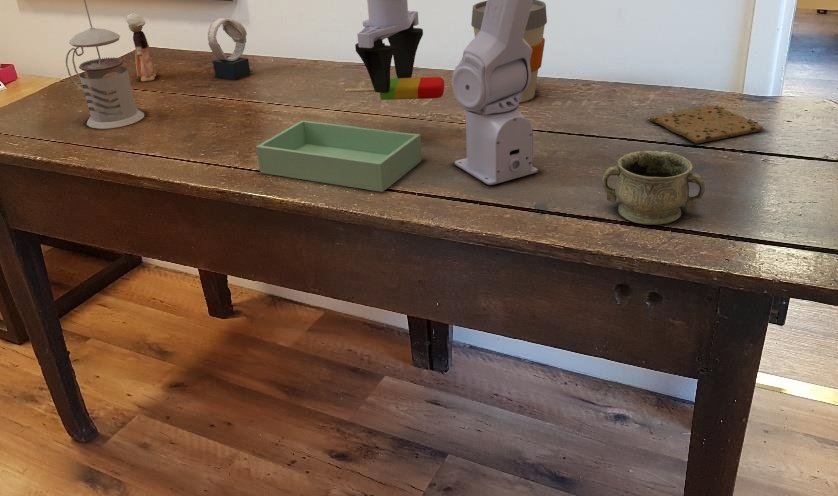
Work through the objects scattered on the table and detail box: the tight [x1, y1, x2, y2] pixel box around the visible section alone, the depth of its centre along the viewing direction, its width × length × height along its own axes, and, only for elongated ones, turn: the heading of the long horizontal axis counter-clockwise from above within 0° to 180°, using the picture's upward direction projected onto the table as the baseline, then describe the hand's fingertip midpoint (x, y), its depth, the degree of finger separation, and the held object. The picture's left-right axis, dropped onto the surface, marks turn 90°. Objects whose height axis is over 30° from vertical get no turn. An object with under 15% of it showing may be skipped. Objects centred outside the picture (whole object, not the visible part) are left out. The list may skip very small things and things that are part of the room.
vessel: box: [601, 150, 706, 226], centre depth 96 cm, size 12×9×6 cm
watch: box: [207, 17, 252, 81], centre depth 157 cm, size 6×8×11 cm
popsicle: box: [344, 76, 445, 101], centre depth 120 cm, size 6×15×2 cm, turn 86°
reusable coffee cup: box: [470, 0, 548, 103], centre depth 135 cm, size 13×13×15 cm
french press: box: [65, 0, 145, 129], centre depth 134 cm, size 10×12×25 cm
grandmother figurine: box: [126, 13, 157, 82], centre depth 158 cm, size 8×4×13 cm, turn 17°
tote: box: [255, 119, 423, 193], centre depth 114 cm, size 20×12×4 cm, turn 63°
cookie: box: [649, 104, 764, 144], centre depth 121 cm, size 12×12×1 cm
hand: (393, 85), depth 120 cm, fingers closed on popsicle, 6 cm apart
